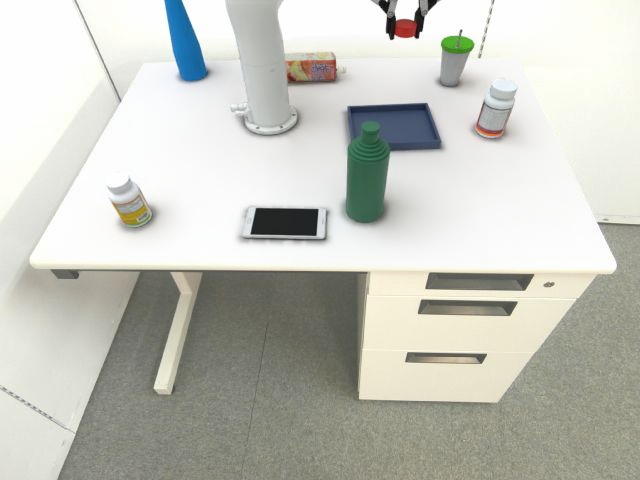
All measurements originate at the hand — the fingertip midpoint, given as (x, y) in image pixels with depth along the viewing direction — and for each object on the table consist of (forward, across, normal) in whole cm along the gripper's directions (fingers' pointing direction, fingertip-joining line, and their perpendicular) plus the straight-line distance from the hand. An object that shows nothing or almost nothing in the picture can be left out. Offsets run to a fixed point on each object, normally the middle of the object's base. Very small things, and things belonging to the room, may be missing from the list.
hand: (403, 35), depth 76 cm
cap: (-2, 0, +1) cm, 2 cm away
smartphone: (+21, +24, +28) cm, 43 cm away
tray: (+21, 0, 0) cm, 21 cm away
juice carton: (+21, +22, -25) cm, 40 cm away
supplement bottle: (+21, +52, +25) cm, 62 cm away
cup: (+21, -18, -20) cm, 34 cm away
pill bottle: (+21, -22, +2) cm, 31 cm away
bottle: (+21, +51, -30) cm, 63 cm away
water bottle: (+21, +9, +25) cm, 34 cm away
